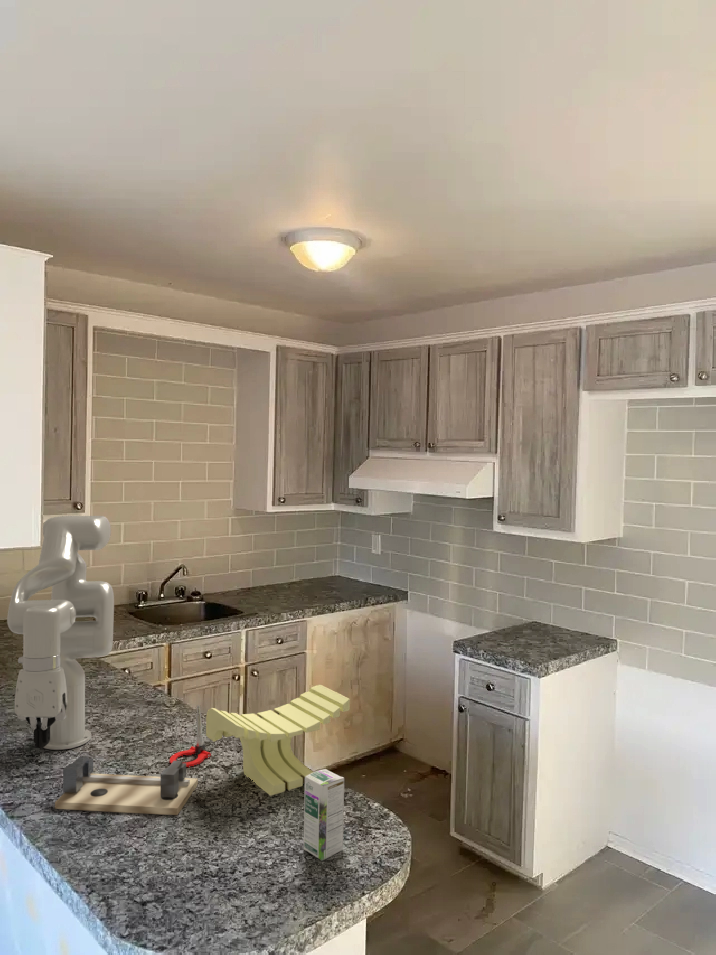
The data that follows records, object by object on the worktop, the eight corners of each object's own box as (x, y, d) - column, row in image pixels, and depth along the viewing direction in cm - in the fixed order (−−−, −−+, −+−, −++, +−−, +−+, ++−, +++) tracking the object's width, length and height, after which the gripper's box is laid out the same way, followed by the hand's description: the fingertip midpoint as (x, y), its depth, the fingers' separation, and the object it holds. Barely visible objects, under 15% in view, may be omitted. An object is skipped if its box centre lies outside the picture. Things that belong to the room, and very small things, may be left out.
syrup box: (302, 849, 139) (302, 776, 138) (325, 838, 143) (325, 766, 142) (321, 861, 135) (322, 786, 134) (344, 850, 139) (345, 776, 138)
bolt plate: (55, 808, 154) (55, 776, 154) (85, 779, 168) (85, 749, 168) (177, 815, 152) (177, 782, 151) (197, 784, 166) (197, 755, 165)
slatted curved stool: (313, 749, 186) (314, 681, 186) (349, 771, 173) (349, 698, 173) (206, 779, 169) (206, 704, 168) (236, 806, 156) (236, 725, 155)
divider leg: (63, 792, 157) (63, 769, 157) (80, 776, 165) (80, 753, 165) (76, 793, 157) (76, 770, 157) (93, 776, 165) (93, 754, 165)
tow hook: (185, 773, 173) (214, 758, 180) (182, 720, 172) (212, 708, 179) (162, 763, 178) (191, 750, 185) (160, 713, 177) (189, 701, 184)
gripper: (-1, 666, 155) (-1, 751, 155) (66, 668, 154) (66, 753, 154) (19, 657, 163) (19, 738, 163) (82, 659, 161) (82, 740, 161)
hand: (41, 745), depth 158 cm, fingers closed
